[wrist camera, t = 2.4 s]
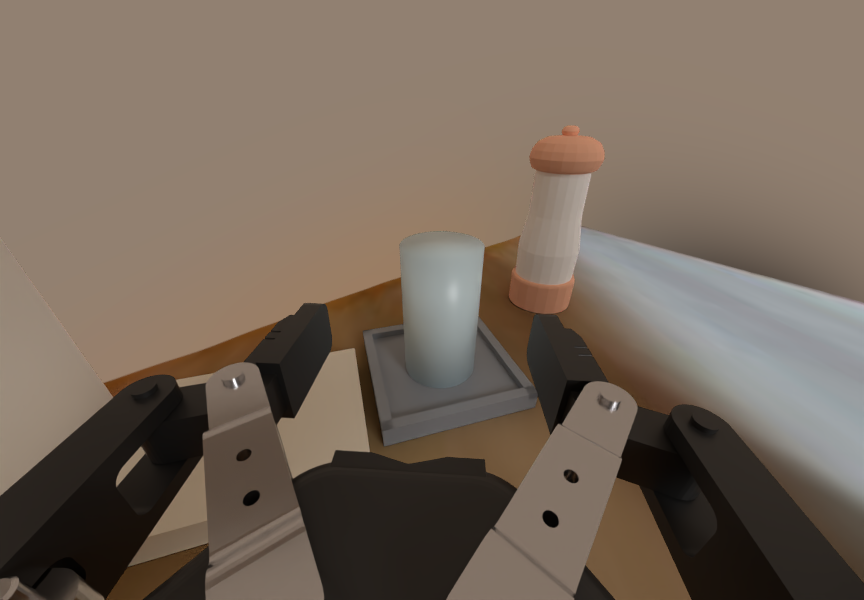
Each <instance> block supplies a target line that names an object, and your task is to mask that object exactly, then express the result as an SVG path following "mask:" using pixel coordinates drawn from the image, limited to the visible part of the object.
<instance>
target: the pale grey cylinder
mask: <svg viewBox="0 0 864 600" xmlns="http://www.w3.org/2000/svg"><path fill="white" fill-rule="evenodd" d="M483 258H484V244H483V242H482V241H481V240H479V239H478V238H475V237H473V236H470V235H467V234H463V233H457V232H447V231H434V232H424V233H419V234H415V235H412V236H409V237H407V238H405V239H403V241H401V243H400V264H401V284H402V303H403V323H404V342H405V362H406V370H407V372H408V374H409V375H410V377H411V378H412V379H414V380H415V381H416V382H418V383H420V384H422V385H424V386H427V387H432V388H449V387H453V386H457V385H459V384H461V383H463V382H464V381H466V380H467V379H468V378H469V377H470V376H471V374H472V372H473V369H474V358H475V347H476V336H477V325H478V314H479V302H480V291H481V280H482V269H483Z"/></svg>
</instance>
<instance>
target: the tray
mask: <svg viewBox="0 0 864 600" xmlns="http://www.w3.org/2000/svg"><path fill="white" fill-rule="evenodd" d="M363 337H364V344H365V349H366V355H367V360H368V365H369V370H370V375H371V381H372V386H373V391H374V396H375V401H376V407H377V412H378V417H379V422H380V427H381V433H382V438H383V443H384V446H388V445H392V444H396V443H399V442H403V441H407V440H411V439H415V438H419V437H422V436H426V435H430V434H434V433H438V432H441V431H445V430H449V429H453V428H457V427H461V426H464V425H468V424H472V423H476V422H480V421H484V420H487V419H491V418H495V417H499V416H503V415H507V414H510V413H514V412H518V411H522V410H526V409H529V408H533V407H535V405H536V401H537V397H538V394H537V391H536V389H535V387H534V386H533V385H532V383H531V382H530V381H529V380H528V378H527V377H526V376H525V375H524V373H523V372H522V371H521V370H520V368H519V367H518V366H517V364H516V363H515V362H514V361H513V359H512V358H511V357H510V356H509V354H508V353H507V352H506V350H505V349H504V348H503V347H502V345H501V344H500V343H499V342H498V340H497V339H496V338H495V337H494V335H493V334H492V333H491V331H490V330H489V329H488V328H487V326H486V325H485V324H484V323H483V321H482V320H481V319H480V318H479V316H478V325H477V336H476V347H475V358H474V369H473V372H472V374H471V376H470V377H469V378H468V379H467V380H466V381H464V382H463V383H461V384H459V385H457V386H453V387H449V388H432V387H427V386H424V385H422V384H420V383H418V382H416V381H415V380H414V379H412V378H411V377H410V375H409V374H408V372H407V370H406V362H405V342H404V324H402V325H396V326H389V327H383V328H377V329H371V330H365V331H363Z"/></svg>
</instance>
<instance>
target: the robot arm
mask: <svg viewBox="0 0 864 600" xmlns="http://www.w3.org/2000/svg"><path fill="white" fill-rule="evenodd" d="M331 346H332V334H331V328H330V322H329V316H328V310H327V307H326V305H325V304H316V303H304V304H303V305H302V306H301V307H300V309H299V310H298V311H297V312H296V314H295V315H289V316H288V317H286V318H284V319H283V320H281V321H279V322H278V323H277V324H276V325H275V327H274V328H273V329H272V330H271V332H269V333H268V335H267V336H266V337H265V339H263V340H262V341H261V343H260V344H259V345H258V346H257V347H256V348H255V350H254V351H253V352H252V353H251V354H250V355H249V356H248V358H247V359H246V360H245V361H244V362H243V363H236V364H232V365H229V366H226V367H224V368H222V369H220V370H218V371H217V372H215V373H214V374H213V375H212V376H211V377H210V378H209V379H208V381H207V383H202V384H196V385H190V386H184V387H179V386H178V384H177V382H176V380H175V378H174V377H172V376H170V375H155V376H150V377H147V378H144V379H141V380H139V381H136V382H134V383H132V384H131V385H129V386H127V387H126V388H124V389H123V390H122V391H120V392H119V393H118V394H117V395H116V396H115V397H113V398H112V399H111V400H110V401H109V402H108V403H107V404H105V405H104V406H103V407H102V408H101V409H100V410H98V411H97V412H96V413H95V414H94V415H93V416H92V417H90V418H89V419H88V420H87V421H86V422H85V423H83V424H82V425H81V426H80V427H79V428H78V429H77V430H75V431H74V432H73V433H72V434H71V435H70V436H69V437H67V438H66V439H65V440H64V441H63V442H62V443H60V444H59V445H58V446H57V447H56V448H55V449H54V450H52V451H51V452H50V453H49V454H48V455H47V456H46V457H44V458H43V459H42V460H41V461H40V462H39V463H37V464H36V465H35V466H34V467H33V468H32V469H31V470H29V471H28V472H27V473H26V474H25V475H24V476H22V477H21V478H20V479H19V480H18V481H17V482H16V483H14V484H13V485H12V486H11V487H10V488H9V489H8V490H6V491H5V492H4V493H3V494H2V495H1V496H0V600H105V599H106V598H107V596H108V595H109V593H110V592H111V590H112V589H113V587H114V586H115V584H116V583H117V581H118V580H119V579H120V577H121V576H122V574H123V573H124V571H125V570H126V568H127V567H128V565H129V564H130V562H131V561H132V559H133V558H134V556H135V555H136V554H137V552H138V551H139V549H140V548H141V546H142V545H143V543H144V542H145V540H146V539H147V537H148V536H149V534H150V533H151V532H152V530H153V529H154V527H155V526H156V524H157V523H158V521H159V520H160V518H161V517H162V515H163V514H164V512H165V511H166V509H167V508H168V507H169V505H170V504H171V502H172V501H173V499H174V498H175V496H176V495H177V493H178V492H179V490H180V489H181V487H182V486H183V484H184V483H185V482H186V480H187V479H188V477H189V476H190V474H191V473H192V471H193V470H194V468H195V467H196V465H197V464H198V462H199V461H200V460H201V458H202V457H203V455H204V472H205V489H206V507H207V524H208V541H209V546H208V547H207V548H206V549H205V550H203V551H202V552H201V553H200V554H198V555H197V556H196V557H195V558H193V559H192V560H191V561H190V562H189V563H187V564H186V565H185V566H184V567H182V568H181V569H180V570H179V571H177V572H176V573H175V574H174V575H172V576H171V577H170V578H169V579H168V580H166V581H165V582H164V583H163V584H161V585H160V586H159V587H158V588H156V589H155V590H154V591H153V592H151V593H150V594H149V595H148V596H147V597H145V598H144V599H143V600H615V599H614V598H613V596H612V595H611V594H610V593H609V592H608V591H607V589H606V588H605V587H604V586H603V585H602V584H601V583H600V581H599V580H598V579H597V578H596V577H595V576H594V575H593V573H592V572H591V571H590V570H589V569H588V568H587V566H586V565H585V564H586V561H587V558H588V556H589V553H590V550H591V547H592V544H593V541H594V538H595V536H596V533H597V530H598V527H599V524H600V521H601V519H602V516H603V513H604V510H605V507H606V504H607V501H608V499H609V496H610V493H611V490H612V487H613V484H614V481H615V479H616V477H617V478H620V479H623V480H626V481H628V482H631V483H634V484H637V485H639V486H640V488H641V490H642V492H643V494H644V497H645V499H646V501H647V503H648V505H649V508H650V510H651V512H652V514H653V516H654V519H655V521H656V523H657V525H658V527H659V529H660V532H661V534H662V536H663V538H664V540H665V543H666V545H667V547H668V549H669V551H670V554H671V556H672V558H673V560H674V562H675V564H676V567H677V569H678V571H679V573H680V575H681V578H682V580H683V582H684V584H685V586H686V589H687V591H688V593H689V595H690V597H691V599H692V600H864V583H863V582H862V581H861V580H860V579H859V577H858V576H857V575H856V574H855V573H854V571H853V570H852V569H851V568H850V567H849V566H848V564H847V563H846V562H845V561H844V560H843V558H842V557H841V556H840V555H839V554H838V553H837V551H836V550H835V549H834V548H833V547H832V545H831V544H830V543H829V542H828V541H827V540H826V538H825V537H824V536H823V535H822V534H821V533H820V531H819V530H818V529H817V528H816V527H815V525H814V524H813V523H812V522H811V521H810V520H809V518H808V517H807V516H806V515H805V514H804V512H803V511H802V510H801V509H800V508H799V507H798V505H797V504H796V503H795V502H794V501H793V499H792V498H791V497H790V496H789V495H788V494H787V492H786V491H785V490H784V489H783V488H782V486H781V485H780V484H779V483H778V482H777V481H776V479H775V478H774V477H773V476H772V475H771V474H770V472H769V471H768V470H767V469H766V468H765V466H764V465H763V464H762V463H761V462H760V461H759V459H758V458H757V457H756V456H755V455H754V453H753V452H752V451H751V450H750V449H749V448H748V446H747V445H746V444H745V443H744V442H743V440H742V439H741V438H740V437H739V436H738V435H737V433H736V432H735V431H734V430H733V429H732V428H731V427H730V425H729V424H727V423H726V422H725V421H724V420H723V419H721V418H720V417H718V416H717V415H715V414H713V413H712V412H710V411H708V410H705V409H703V408H700V407H697V406H693V405H684V404H683V405H678V406H675V407H674V408H673V409H672V411H671V413H670V415H666V414H662V413H659V412H655V411H652V410H648V409H645V408H642V407H639V406H637V404H636V402H635V400H634V399H633V397H632V396H631V395H630V394H629V393H627V392H626V391H625V390H623V389H622V388H620V387H618V386H616V385H613V384H611V383H609V382H608V380H607V379H606V377H605V376H604V374H603V372H602V371H601V369H600V367H599V366H598V364H597V362H596V361H595V359H594V357H592V354H591V352H590V351H589V349H587V346H586V344H585V342H584V341H583V339H582V338H581V337H580V336H579V335H578V334H577V333H575V332H574V331H573V330H572V329H565V328H564V327H563V325H562V323H561V322H560V320H559V318H558V316H557V315H545V314H536V315H535V316H534V318H533V323H532V328H531V332H530V337H529V342H528V347H527V361H528V365H529V368H530V372H531V375H532V378H533V381H534V384H535V387H536V391H537V394H538V397H539V400H540V403H541V406H542V409H543V413H544V416H545V419H546V422H547V425H548V428H549V432H550V435H551V436H550V437H549V439H548V440H547V442H546V444H545V445H544V447H543V449H542V450H541V452H540V454H539V455H538V457H537V458H536V460H535V462H534V463H533V465H532V467H531V468H530V470H529V471H528V473H527V475H526V476H525V478H524V480H523V481H522V483H521V484H520V486H519V488H518V489H516V488H515V487H514V486H512V485H511V484H510V483H508V482H506V481H505V480H503V479H501V478H499V477H497V476H495V475H493V474H490V473H487V472H486V469H485V459H470V458H454V457H445V458H440V459H434V460H429V461H423V462H418V463H412V464H407V463H403V462H400V461H397V460H394V459H391V458H388V457H385V456H382V455H378V454H375V453H372V452H359V451H343V450H335V453H334V456H333V459H332V462H331V463H326V464H323V465H319V466H316V467H314V468H312V469H309V470H307V471H305V472H303V473H301V474H299V475H298V476H296V477H295V478H293V477H292V473H291V470H290V467H289V463H288V460H287V457H286V453H285V450H284V447H283V443H282V440H281V437H280V434H279V430H278V427H277V424H278V422H279V421H280V419H281V418H295V417H296V415H297V413H298V411H299V409H300V407H301V405H302V404H303V402H304V400H305V398H306V396H307V394H308V392H309V390H310V389H311V387H312V385H313V383H314V381H315V379H316V377H317V375H318V374H319V372H320V370H321V368H322V366H323V364H324V362H325V360H326V359H327V357H328V355H329V353H330V350H331ZM140 447H142V449H143V450H144V452H145V454H144V456H143V457H142V458H141V459H140V460H139V461H138V463H137V464H136V465H135V466H134V467H133V468H132V470H131V471H130V472H129V473H128V474H127V475H126V477H125V478H124V479H123V480H122V481H121V482H120V483H119V485H118V486H117V487H116V480H117V476H118V474H119V472H120V470H121V469H122V467H123V466H124V465H125V464H126V463H127V461H128V460H129V459H130V458H131V457H132V456H133V455H134V454H135V452H136V451H137V450H138V449H139V448H140ZM704 495H705V496H704Z"/></svg>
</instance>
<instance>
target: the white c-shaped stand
mask: <svg viewBox="0 0 864 600" xmlns="http://www.w3.org/2000/svg"><path fill="white" fill-rule="evenodd" d="M213 374H214V373H212V374H206V375H201V376H195V377H189V378H184V379H178V380H176V382H177V384H178V386H179V387H184V386H190V385H196V384H202V383H207V381H208V379H209V378H210V377H211V376H212V375H213ZM112 398H113V396H112V395H111V393H110V392H109V391H108V389H107V388H106V386H105V385H104V384H103V382H102V381H101V379H100V378H99V376H98V375H97V374H96V372H95V371H94V369H93V368H92V367H91V365H90V364H89V362H88V361H87V359H86V358H85V357H84V355H83V354H82V352H81V351H80V349H79V348H78V347H77V345H76V344H75V343H74V341H73V340H72V338H71V337H70V335H69V334H68V332H67V331H66V330H65V328H64V327H63V325H62V324H61V322H60V321H59V320H58V318H57V317H56V315H55V314H54V313H53V311H52V310H51V308H50V307H49V305H48V304H47V303H46V301H45V300H44V298H43V297H42V296H41V294H40V293H39V291H38V290H37V288H36V287H35V286H34V284H33V283H32V281H31V280H30V278H29V277H28V276H27V274H26V273H25V271H24V270H23V269H22V267H21V266H20V264H19V263H18V261H17V260H16V258H15V257H14V256H13V254H12V253H11V251H10V250H9V248H8V247H7V246H6V244H5V243H4V241H3V240H2V239H1V237H0V496H1V495H2V494H3V493H4V492H5V491H6V490H8V489H9V488H10V487H11V486H12V485H13V484H14V483H16V482H17V481H18V480H19V479H20V478H21V477H22V476H24V475H25V474H26V473H27V472H28V471H29V470H31V469H32V468H33V467H34V466H35V465H36V464H37V463H39V462H40V461H41V460H42V459H43V458H44V457H46V456H47V455H48V454H49V453H50V452H51V451H52V450H54V449H55V448H56V447H57V446H58V445H59V444H60V443H62V442H63V441H64V440H65V439H66V438H67V437H69V436H70V435H71V434H72V433H73V432H74V431H75V430H77V429H78V428H79V427H80V426H81V425H82V424H83V423H85V422H86V421H87V420H88V419H89V418H90V417H92V416H93V415H94V414H95V413H96V412H97V411H98V410H100V409H101V408H102V407H103V406H104V405H105V404H107V403H108V402H109V401H110V400H111V399H112ZM277 427H278V430H279V434H280V437H281V440H282V443H283V447H284V450H285V453H286V457H287V460H288V463H289V467H290V470H291V473H292V477H293V478H295V477H296V476H298V475H299V474H301V473H303V472H305V471H307V470H309V469H312V468H314V467H316V466H319V465H323V464H326V463H331V462H332V459H333V456H334V453H335V450H343V451H359V452H370V449H369V442H368V435H367V428H366V422H365V415H364V408H363V401H362V394H361V388H360V381H359V374H358V367H357V360H356V354H355V348H352V349H346V350H341V351H335V352H330V353H329V355H328V357H327V359H326V360H325V362H324V364H323V366H322V368H321V370H320V372H319V374H318V375H317V377H316V379H315V381H314V383H313V385H312V387H311V389H310V390H309V392H308V394H307V396H306V398H305V400H304V402H303V404H302V405H301V407H300V409H299V411H298V413H297V415H296V417H295V418H281V419H280V421H279V422H278V424H277ZM144 454H145V452H144V450H143V449H142V447H140V448H139V449H138V450H137V451H136V452H135V454H134V455H133V456H132V457H131V458H130V459H129V460H128V461H127V463H126V464H125V465H124V466H123V467H122V469H121V470H120V472H119V474H118V476H117V480H116V487H117V486H118V485H119V483H120V482H121V481H122V480H123V479H124V478H125V477H126V475H127V474H128V473H129V472H130V471H131V470H132V468H133V467H134V466H135V465H136V464H137V463H138V461H139V460H140V459H141V458H142V457H143V456H144ZM207 543H209V541H208V524H207V507H206V489H205V472H204V455H203V457H202V458H201V460H200V461H199V462H198V464H197V465H196V467H195V468H194V470H193V471H192V473H191V474H190V476H189V477H188V479H187V480H186V482H185V483H184V484H183V486H182V487H181V489H180V490H179V492H178V493H177V495H176V496H175V498H174V499H173V501H172V502H171V504H170V505H169V507H168V508H167V509H166V511H165V512H164V514H163V515H162V517H161V518H160V520H159V521H158V523H157V524H156V526H155V527H154V529H153V530H152V532H151V533H150V534H149V536H148V537H147V539H146V540H145V542H144V543H143V545H142V546H141V548H140V549H139V551H138V552H137V554H136V555H135V556H134V558H133V559H132V561H131V562H130V564H129V565H128V567H129V566H132V565H136V564H139V563H143V562H146V561H149V560H153V559H156V558H159V557H163V556H166V555H170V554H173V553H176V552H180V551H183V550H186V549H190V548H193V547H196V546H200V545H203V544H207Z"/></svg>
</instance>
